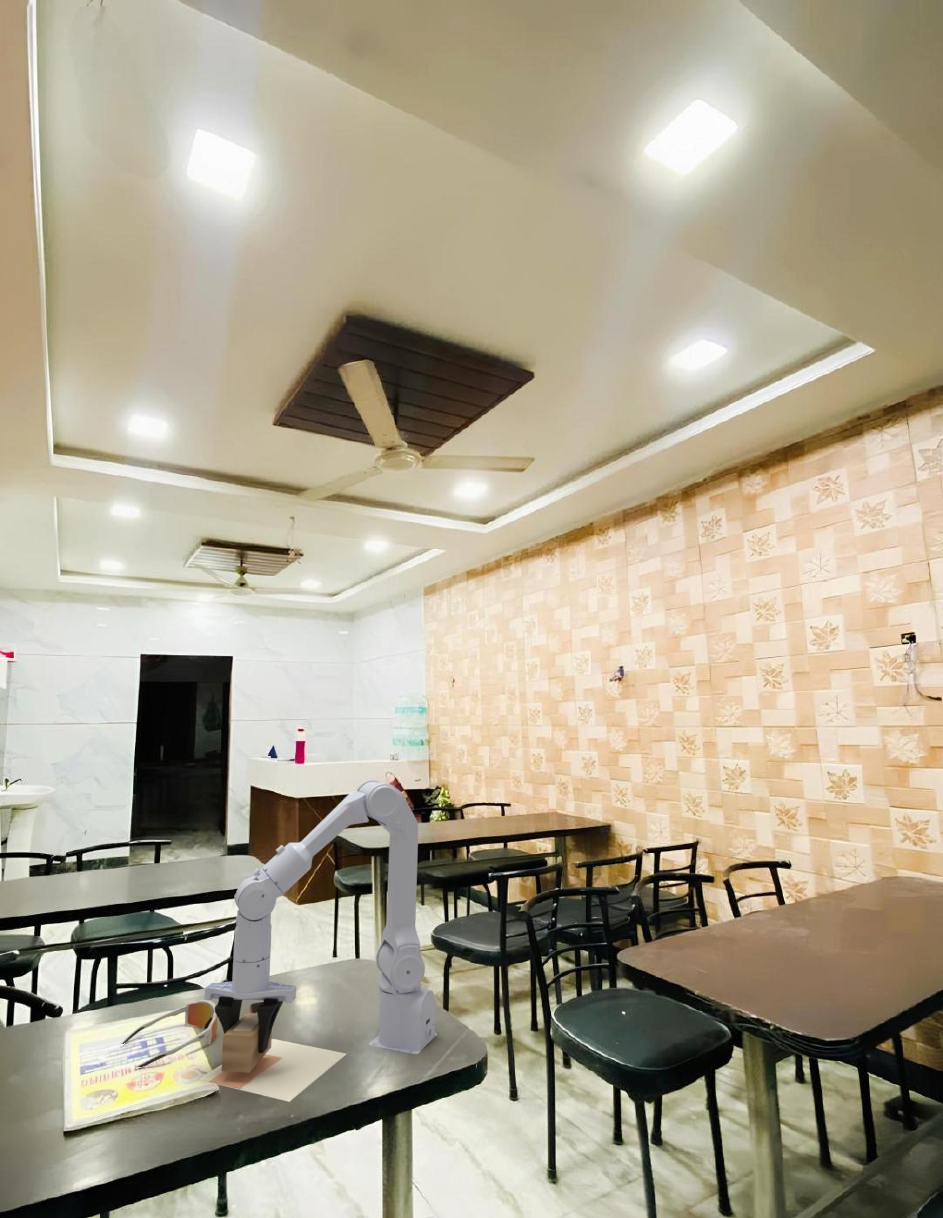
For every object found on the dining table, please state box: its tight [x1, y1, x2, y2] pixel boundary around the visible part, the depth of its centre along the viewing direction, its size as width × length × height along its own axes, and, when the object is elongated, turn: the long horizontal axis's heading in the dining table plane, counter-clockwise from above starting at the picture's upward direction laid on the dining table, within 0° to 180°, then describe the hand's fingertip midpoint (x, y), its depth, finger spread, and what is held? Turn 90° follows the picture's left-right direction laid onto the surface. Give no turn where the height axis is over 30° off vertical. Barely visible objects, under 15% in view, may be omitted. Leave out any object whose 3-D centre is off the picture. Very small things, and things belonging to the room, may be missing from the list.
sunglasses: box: [120, 999, 218, 1068], centre depth 113 cm, size 14×15×5 cm
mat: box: [197, 1038, 347, 1103], centre depth 103 cm, size 17×15×1 cm
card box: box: [221, 1012, 273, 1073], centre depth 103 cm, size 8×4×5 cm, turn 174°
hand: (247, 1049), depth 103 cm, fingers closed on card box, 4 cm apart
